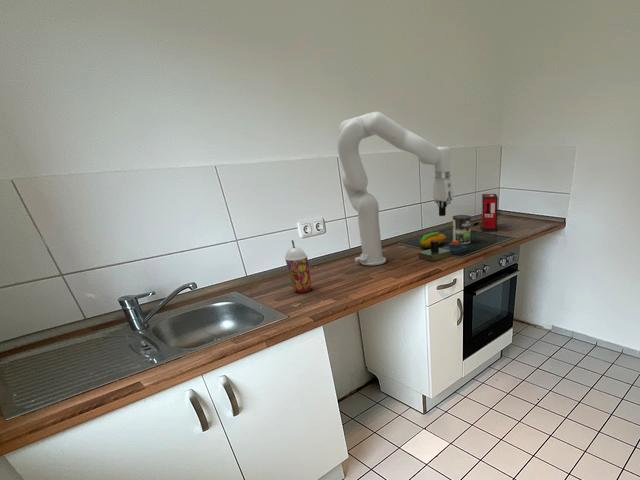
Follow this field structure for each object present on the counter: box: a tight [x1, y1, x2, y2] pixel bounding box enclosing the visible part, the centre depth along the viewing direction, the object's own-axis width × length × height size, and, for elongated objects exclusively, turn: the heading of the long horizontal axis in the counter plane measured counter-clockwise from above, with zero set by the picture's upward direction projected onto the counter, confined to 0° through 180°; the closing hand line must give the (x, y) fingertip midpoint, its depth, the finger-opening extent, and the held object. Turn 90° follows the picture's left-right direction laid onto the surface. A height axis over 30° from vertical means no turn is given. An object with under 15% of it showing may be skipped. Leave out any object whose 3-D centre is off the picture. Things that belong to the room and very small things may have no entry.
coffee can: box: [452, 214, 472, 245], centre depth 218 cm, size 10×10×14 cm
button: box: [451, 239, 459, 245], centre depth 202 cm, size 4×4×2 cm
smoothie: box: [284, 239, 312, 293], centre depth 152 cm, size 8×8×20 cm
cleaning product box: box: [481, 193, 499, 232], centre depth 246 cm, size 16×9×20 cm, turn 178°
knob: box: [430, 240, 440, 252], centre depth 192 cm, size 4×4×5 cm
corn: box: [419, 231, 447, 249], centre depth 213 cm, size 7×8×20 cm
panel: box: [418, 247, 452, 263], centre depth 194 cm, size 13×10×3 cm
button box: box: [442, 242, 469, 256], centre depth 203 cm, size 11×9×4 cm
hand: (442, 215), depth 195 cm, fingers closed
